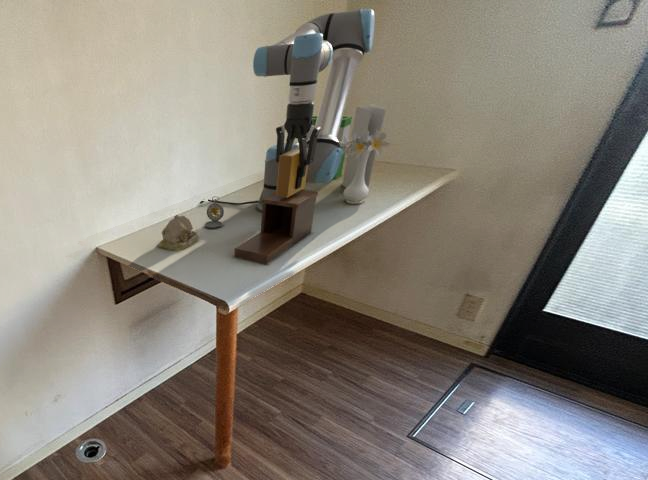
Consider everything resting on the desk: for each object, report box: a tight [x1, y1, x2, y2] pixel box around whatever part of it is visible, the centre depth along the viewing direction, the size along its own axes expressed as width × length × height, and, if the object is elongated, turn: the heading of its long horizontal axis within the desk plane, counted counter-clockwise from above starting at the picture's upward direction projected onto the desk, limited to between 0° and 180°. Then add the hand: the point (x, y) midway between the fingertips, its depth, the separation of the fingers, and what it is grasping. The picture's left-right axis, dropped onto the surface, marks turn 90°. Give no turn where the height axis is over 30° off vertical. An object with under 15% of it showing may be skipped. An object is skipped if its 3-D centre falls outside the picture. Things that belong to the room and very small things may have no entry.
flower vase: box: [339, 130, 390, 205], centre depth 159 cm, size 13×18×25 cm
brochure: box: [341, 103, 387, 189], centre depth 170 cm, size 14×6×30 cm, turn 179°
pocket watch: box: [204, 196, 225, 229], centre depth 158 cm, size 8×8×10 cm
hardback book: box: [306, 115, 353, 180], centre depth 191 cm, size 18×7×24 cm, turn 50°
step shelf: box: [234, 189, 319, 266], centre depth 137 cm, size 13×30×14 cm, turn 137°
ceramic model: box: [158, 214, 199, 251], centre depth 147 cm, size 14×11×10 cm
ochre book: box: [276, 147, 308, 198], centre depth 132 cm, size 4×12×12 cm, turn 137°
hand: (291, 186), depth 135 cm, fingers closed on ochre book, 4 cm apart
